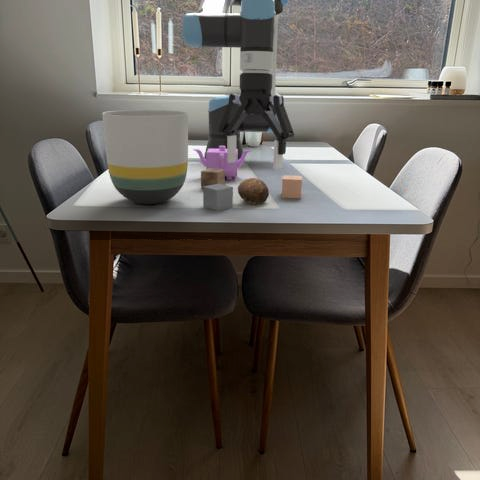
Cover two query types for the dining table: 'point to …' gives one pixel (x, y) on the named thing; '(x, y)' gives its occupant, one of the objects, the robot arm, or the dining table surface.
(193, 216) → the dining table surface
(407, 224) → the dining table surface
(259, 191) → the mushroom
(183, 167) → the planter
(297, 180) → the terracotta cube
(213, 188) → the slate cube
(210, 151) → the teapot
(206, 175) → the walnut cube
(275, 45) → the robot arm
